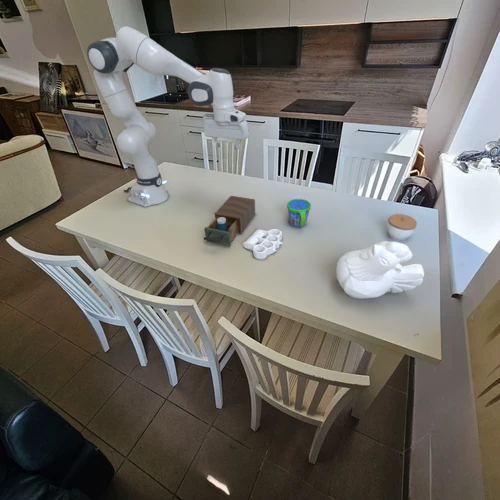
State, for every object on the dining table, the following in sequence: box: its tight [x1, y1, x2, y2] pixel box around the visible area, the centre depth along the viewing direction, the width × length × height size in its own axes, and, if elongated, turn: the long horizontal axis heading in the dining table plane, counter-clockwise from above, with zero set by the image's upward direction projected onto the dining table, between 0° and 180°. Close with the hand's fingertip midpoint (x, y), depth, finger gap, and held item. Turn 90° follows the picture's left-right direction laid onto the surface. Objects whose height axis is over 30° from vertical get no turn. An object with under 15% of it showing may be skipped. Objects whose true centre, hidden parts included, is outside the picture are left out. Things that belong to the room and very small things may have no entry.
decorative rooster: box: [335, 240, 425, 300], centre depth 88 cm, size 25×16×25 cm
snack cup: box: [286, 198, 312, 228], centre depth 128 cm, size 16×10×10 cm
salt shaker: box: [217, 217, 228, 232], centre depth 120 cm, size 4×4×8 cm
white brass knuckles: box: [242, 228, 284, 260], centre depth 118 cm, size 3×18×15 cm
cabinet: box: [214, 195, 256, 235], centre depth 132 cm, size 18×13×9 cm
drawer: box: [203, 216, 239, 247], centre depth 122 cm, size 21×11×7 cm, turn 158°
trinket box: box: [386, 213, 418, 241], centre depth 117 cm, size 11×11×9 cm
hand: (227, 148), depth 125 cm, fingers open, 8 cm apart
